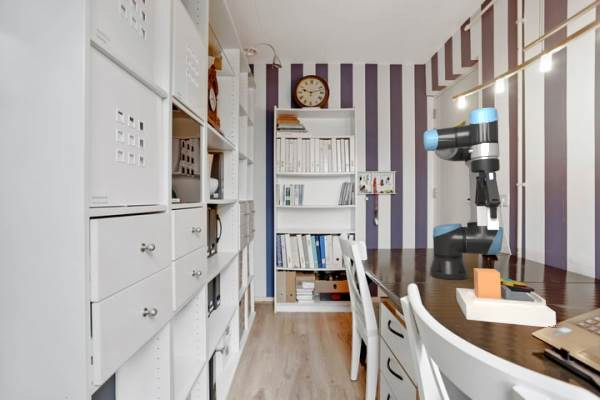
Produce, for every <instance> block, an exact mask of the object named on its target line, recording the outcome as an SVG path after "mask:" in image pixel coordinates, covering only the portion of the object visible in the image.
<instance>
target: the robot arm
mask: <svg viewBox="0 0 600 400" xmlns="http://www.w3.org/2000/svg"><path fill="white" fill-rule="evenodd" d="M468 123H469V124H467V125H459V126H458V125H457V126H453V127H445V128H436V129H434V128H433V129H430V130H425V132H424V133H423V147H424V150H425V151H427V152H429V151H431V152H434V154H435V155H436V156H437V157H438V158H439V159H442V160H444V161H449V162H464V165H465V166H466V167H467V168H468V176H469V201H470V202H469V204H470V219H469V220H468V221H467V223H466V226H463V225H462V223H461V222H460V223H449V224H441V225H436V226H434V228H433V230H432V240H433V243H432V245H433V260H432V263H431V266H430V269H429V276H431V275H432V276H431V277H433V276H434V278H438V279H442V280H443V279H444V280H466V279H468V277H469V274H468V270H467V267H466V265H465V262H464V258H463V257H464V256H463V254H470V255H471V254H472V255H486V256H489V255H495V256H496V255H498V254H500V253H501V251H502V247H503V238H504V228H503V227H502V226H499V225H500V222H499V205H501V203H502V202H501V199H500V192H499V187H498V181H497V173H496V172H499V171H500V167H501V166H500V159H499V157H500V143H499V117H498V110H497V108H495V107H481V108H477V109H474V110H473V111H471V112H470V113H469V121H468Z"/></svg>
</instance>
